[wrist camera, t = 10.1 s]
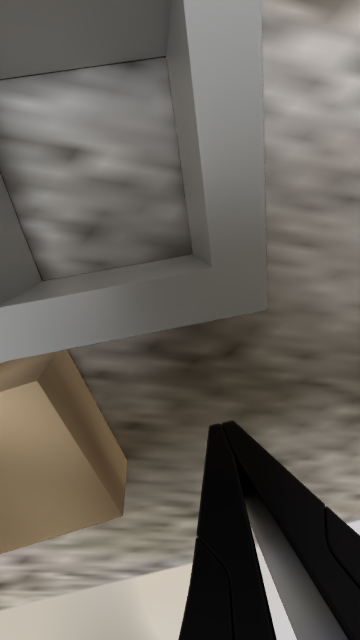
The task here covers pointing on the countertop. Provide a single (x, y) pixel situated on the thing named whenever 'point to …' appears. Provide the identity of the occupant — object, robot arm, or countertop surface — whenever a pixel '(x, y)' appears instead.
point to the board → (54, 453)
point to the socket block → (196, 164)
